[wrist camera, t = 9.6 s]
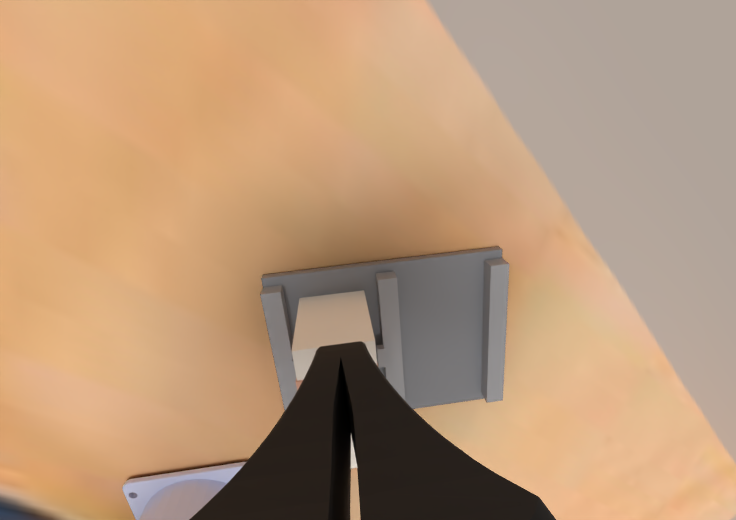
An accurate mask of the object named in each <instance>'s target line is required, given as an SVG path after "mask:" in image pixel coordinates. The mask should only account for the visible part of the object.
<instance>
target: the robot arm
mask: <svg viewBox="0 0 736 520" xmlns="http://www.w3.org/2000/svg"><path fill="white" fill-rule="evenodd" d="M351 435H352V441H353V446H354V451H355V457H356V462H357V468H358V483H359V498H360V514H361V520H556V519H555V518H554V516H553V515H552V514H551V512H550V511H549V510H548V508H547V507H546V506H545V504H544V503H543V502H542V500H541V499H540V498H539V497H538V496H536V495H534V494H532V493H531V492H529V491H527V490H525V489H523V488H521V487H520V486H518V485H516V484H514V483H512V482H510V481H509V480H507V479H505V478H503V477H501V476H499V475H498V474H496V473H494V472H493V471H491V470H489V469H488V468H486V467H485V466H483V465H481V464H480V463H478V462H477V461H475V460H474V459H472V458H471V457H470V456H468V455H467V454H466V453H464V452H463V451H462V450H460V449H459V448H458V447H456V446H455V445H454V444H452V443H451V442H450V441H448V440H447V439H445V438H444V437H443V436H442V435H441V434H439V433H438V432H437V431H436V430H435V429H434V428H432V427H431V426H430V425H429V424H428V423H427V422H426V421H425V420H424V419H422V418H421V417H420V416H419V415H418V414H417V413H416V412H415V411H414V410H413V409H412V408H411V407H410V406H409V405H408V404H407V403H406V401H405V400H404V399H403V398H402V397H401V396H400V395H399V394H398V392H397V391H396V390H395V389H394V388H393V386H392V385H391V384H390V383H389V381H388V380H387V379H386V377H385V376H384V375H383V373H382V372H381V371H380V369H379V368H378V366H377V365H376V363H375V362H374V360H373V359H372V357H371V355H370V353H369V351H368V349H367V347H366V344H365V343H363V342H362V341H358V342H351V343H343V344H336V345H328V346H321V347H319V348H318V349H317V350H316V353H315V356H314V358H313V361H312V363H311V365H310V367H309V369H308V371H307V373H306V376H305V377H304V379H303V381H302V383H301V385H300V387H299V389H298V390H297V392H296V394H295V396H294V397H293V399H292V401H291V402H290V404H289V405H288V407H287V409H286V410H285V412H284V413H283V415H282V416H281V418H280V420H279V421H278V422H277V424H276V425H275V427H274V428H273V429H272V431H271V432H270V434H269V435H268V436H267V438H266V439H265V440H264V441H263V443H262V444H261V445H260V447H259V448H258V449H257V450H256V451H255V453H254V454H253V455H252V456H251V457H250V458H249V460H248V461H247V462H240V463H233V464H226V465H220V466H213V467H207V468H200V469H193V470H187V471H180V472H174V473H167V474H160V475H154V476H147V477H141V478H134V479H129V480H127V481H126V482H125V484H124V485H123V488H122V489H123V492H124V494H125V497H126V499H127V501H128V503H129V506H130V508H131V510H132V512H133V515H134V517H135V519H136V520H350V478H351Z"/></svg>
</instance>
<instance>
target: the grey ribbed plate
mask: <svg viewBox="0 0 736 520" xmlns="http://www.w3.org/2000/svg"><path fill="white" fill-rule="evenodd" d="M261 280H262V285H263V289H262V291H261V294H260V296H261V301H262V305H263V310H264V315H265V319H266V324H267V329H268V334H269V338H270V343H271V348H272V353H273V357H274V362H275V367H276V371H277V376H278V381H279V386H280V390H281V395H282V400H283V405H284V409H285V410H286V409H287V407H288V405H289V404H290V402H291V401H292V399H293V397H294V396H295V394H296V392H297V387H296V373H295V367H294V362H293V356H292V345H293V338H294V332H295V325H296V318H297V312H298V305H299V298H304V297H313V296H321V295H329V294H337V293H346V292H354V291H362V290H364V292H365V297H366V302H367V306H368V311H369V315H370V320H371V324H372V329H373V333H374V338H375V346H376V357H377V363H378V368H379V369H380V371H381V372H382V373H383V375H384V376H385V377H386V379H387V380H388V381H389V383H390V384H391V385H392V386H393V388H394V389H395V390H396V391H397V392H398V394H399V395H400V396H401V397H402V398H403V399H404V400H405V401H406V403H407V404H408V405H409V406H410V407H411V408H412V409H416V408H422V407H429V406H436V405H443V404H450V403H456V402H463V401H470V400H477V399H484V398H485V400H486V402H494V401H501V400H503V384H504V363H505V342H506V322H507V301H508V280H509V263H508V262H506V261H505V260H504V259H503V258H502V249H501V248H500V247H490V248H482V249H473V250H465V251H457V252H449V253H440V254H432V255H424V256H415V257H407V258H399V259H390V260H382V261H374V262H365V263H357V264H349V265H340V266H332V267H324V268H315V269H307V270H299V271H290V272H282V273H274V274H266V275H262V278H261Z"/></svg>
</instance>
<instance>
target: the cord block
mask: <svg viewBox="0 0 736 520" xmlns="http://www.w3.org/2000/svg"><path fill="white" fill-rule="evenodd" d="M358 341H362V342H363V343H365V344H366V347H367V349H368V351H369V353H370V355H371V357H372V359H373V360H374V362H375V363H376V365H377V366H378V363H377V357H376V346H375V338H374V333H373V329H372V324H371V320H370V315H369V311H368V306H367V302H366V297H365V292H364V290H362V291H354V292H346V293H337V294H329V295H321V296H313V297H304V298H299V305H298V312H297V318H296V325H295V332H294V338H293V345H292V356H293V362H294V367H295V373H296V387H297V390H298V389H299V387H300V385H301V383H302V381H303V379H304V377H305V376H306V373H307V371H308V369H309V367H310V365H311V363H312V361H313V358H314V356H315V353H316V350H317V349H318V348H319V347H321V346H328V345H336V344H343V343H351V342H358ZM352 468H357V462H356V457H355V451H354V446H353V441H352V435H351V469H352Z"/></svg>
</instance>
